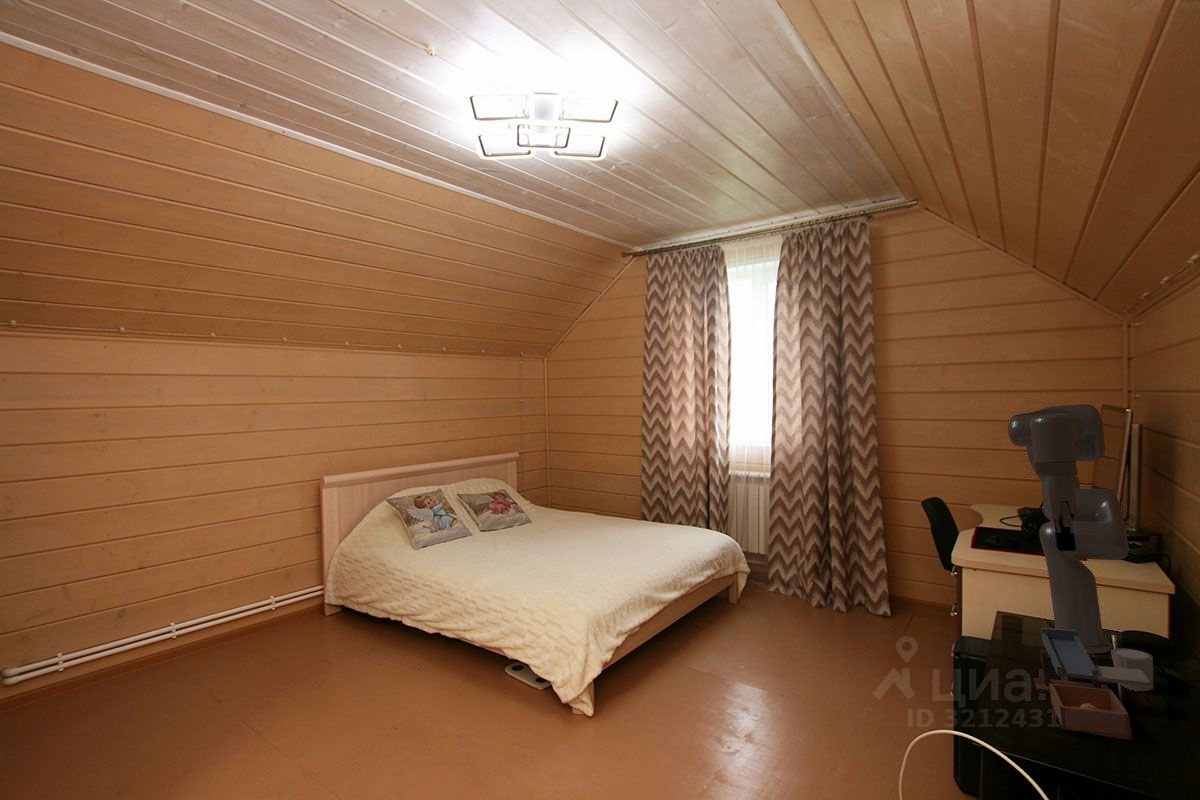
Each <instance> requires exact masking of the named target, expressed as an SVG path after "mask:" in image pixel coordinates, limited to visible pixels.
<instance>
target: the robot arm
mask: <svg viewBox="0 0 1200 800" xmlns="http://www.w3.org/2000/svg"><path fill="white" fill-rule="evenodd" d="M1007 433H1008V437H1009V440H1010V442H1011V443H1012V444H1013V445H1014V446H1017V447H1025V448H1026V454H1027V456H1028V460H1029V461H1028V462H1029V463H1030V466H1031V468H1032V469H1033V472H1034V473H1035V475H1036V477H1038V479H1039V481H1040V483H1041V495H1042V508H1043V514H1044V516H1045V517H1046V518H1047V519H1048V520H1049V521H1047V522H1045V523H1043V524H1042V525H1041V526H1040V528H1039V531H1038V534H1039V535H1038V536H1039V542H1040V543H1041V547H1042V550H1043V554H1044V558H1045V562H1046V566H1047V567H1046V568H1047V573H1048V580H1049V581H1048V582H1049V588H1050V590H1049V591H1050V597H1051V604H1052V612H1053V621H1054V628H1057V629H1072V630H1077V634H1078V637H1079V639H1080V641H1081V643H1082V644H1083V646H1084V648H1085V650H1086V652H1087V653H1088V654H1089V653H1094V654H1105V653H1106V654H1107V653H1108V652H1111V650H1113V644H1112V642H1111V641H1109V640H1108V639H1106V638H1104V633H1103V627H1102V626H1103V624H1102V617H1101V611H1100V602H1099V596H1098V588H1097V582H1096V580H1097V579H1096V577H1095V575H1094V573H1093V572H1092V570H1091V569H1089V567H1088V566H1086V565H1085V564H1084V563H1083V562H1082V561H1081V560H1093V561H1094V560H1095V561H1096V560H1098V561H1121V560H1123V559H1125V558H1126V557H1127V556H1128V554H1129V549H1130V548H1129V540H1128V539H1129V538H1128V534H1127V530H1126V526H1125V521H1124V517H1123V512H1122V508H1121V504H1120V501H1119V498H1118V497H1117V495H1116V494H1115V493H1114V492H1112V491H1110V490H1108V489H1103V488H1081V481H1080V479H1079V477H1078V475H1079V474H1078V467H1077V462H1092V461H1093V462H1094V461H1097V460H1100V459H1102V458H1103V457H1104V455H1105V451H1106V445H1105V444H1106V443H1105V435H1104V434H1105V433H1104V424H1103V418H1102V415H1101V413H1100V412H1099V410H1098V409H1097V407H1096V406H1094V405H1092V404H1089V403H1082V404H1078V403H1077V404H1069V405H1068V404H1067V405H1066V404H1065V405H1052V406H1046V407H1043V408H1041V409H1039V410H1034V411H1030V412H1026V413H1025V412H1024V413H1020V414H1019V413H1018V414H1014V415H1012V416H1011V417H1010V418H1009V421H1008V425H1007Z"/></svg>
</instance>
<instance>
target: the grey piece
mask: <svg viewBox="0 0 1200 800" xmlns="http://www.w3.org/2000/svg"><path fill="white" fill-rule="evenodd" d="M1040 630H1041V631H1040V634H1041V640H1042V643H1043V645H1044V647H1045V648H1044V649H1045V650H1046V652H1047V656H1048V662H1051V663H1052V664H1051V665H1052V666H1053V668H1054V670H1055V673H1056V675H1057V677H1065V678H1073V679H1074V678H1075V679H1085V680H1092V679H1093V680H1098V681H1100V683H1101V682H1102V683H1103V682H1104V683H1114V684H1119V683H1122V684H1132V685H1142V686H1151V685H1150V681H1149V680H1148V678H1147V677H1146V676H1145V674H1144V673H1143V671H1142V670H1138V669H1127V668H1115V667H1114V666H1105V665H1104V666H1102V665H1098V666H1094V664H1093V662H1092V661H1091V659H1090V657H1089V653H1087V652H1086V650H1085V648H1084V646H1083V644H1082V643H1081V641H1080V639H1079V637H1078V634H1077V630H1072V629H1057V628H1055V627H1054V628H1053V627H1040Z"/></svg>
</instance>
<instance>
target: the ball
mask: <svg viewBox="0 0 1200 800" xmlns="http://www.w3.org/2000/svg"><path fill="white" fill-rule="evenodd" d="M1080 708H1083V709H1092V710H1098V709H1097V708H1096V707H1095V706H1094V705H1091V704H1083V705H1081V706H1080Z"/></svg>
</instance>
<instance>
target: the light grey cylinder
mask: <svg viewBox="0 0 1200 800" xmlns="http://www.w3.org/2000/svg"><path fill="white" fill-rule="evenodd" d="M1110 653H1111V658H1112V661H1113V662H1112V663H1113V667H1115V668H1127V669H1138V670H1142V671H1143V673H1144V674H1145V676H1146V677H1147V678H1148V680H1149V681H1150V685H1151V686H1142V685H1132V684H1122V683H1118V685H1119V684H1120V685H1122V686H1123V687H1125V688H1127V689H1126V690H1128V689H1129V691H1132V690H1134V691H1133V692H1137V691H1148V690H1151V689H1153V690H1154V656H1153V655H1152V654H1150V653H1148V652H1146V651H1142V650H1139V649H1134V648H1123V647H1121V648H1114V649H1113V648H1112V650H1111V651H1110ZM1120 685H1119V686H1120ZM1123 687H1122V688H1123ZM1125 688H1124V689H1125Z"/></svg>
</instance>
